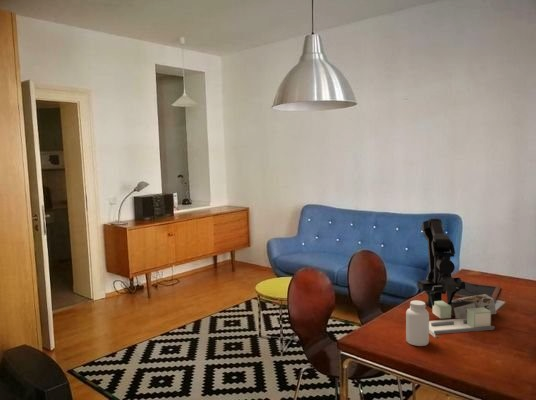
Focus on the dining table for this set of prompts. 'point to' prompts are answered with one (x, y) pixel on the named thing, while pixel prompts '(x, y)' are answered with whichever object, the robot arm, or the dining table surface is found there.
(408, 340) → the pill bottle
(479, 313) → the faced box
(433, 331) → the shelf
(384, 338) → the dining table surface
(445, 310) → the pale green box
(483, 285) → the picture frame
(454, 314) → the coffee box
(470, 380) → the dining table surface
